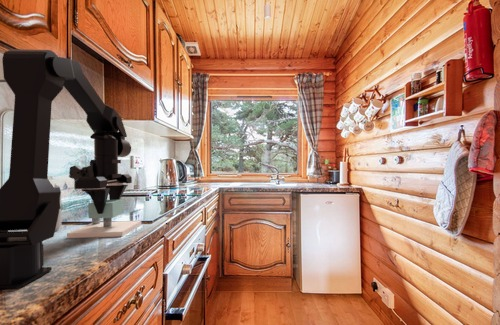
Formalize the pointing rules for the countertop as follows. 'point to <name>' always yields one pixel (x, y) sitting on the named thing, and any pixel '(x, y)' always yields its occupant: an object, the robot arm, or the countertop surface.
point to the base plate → (104, 228)
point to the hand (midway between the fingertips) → (107, 211)
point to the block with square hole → (107, 209)
